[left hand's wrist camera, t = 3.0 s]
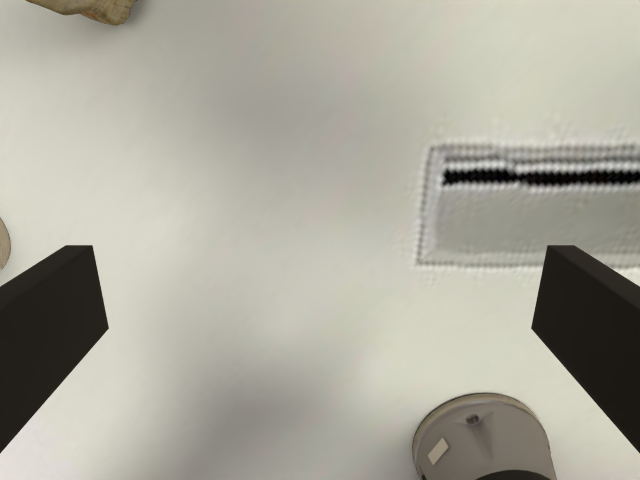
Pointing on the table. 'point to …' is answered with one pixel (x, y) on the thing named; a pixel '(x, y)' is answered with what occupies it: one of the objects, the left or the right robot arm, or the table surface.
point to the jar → (4, 245)
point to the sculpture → (91, 9)
